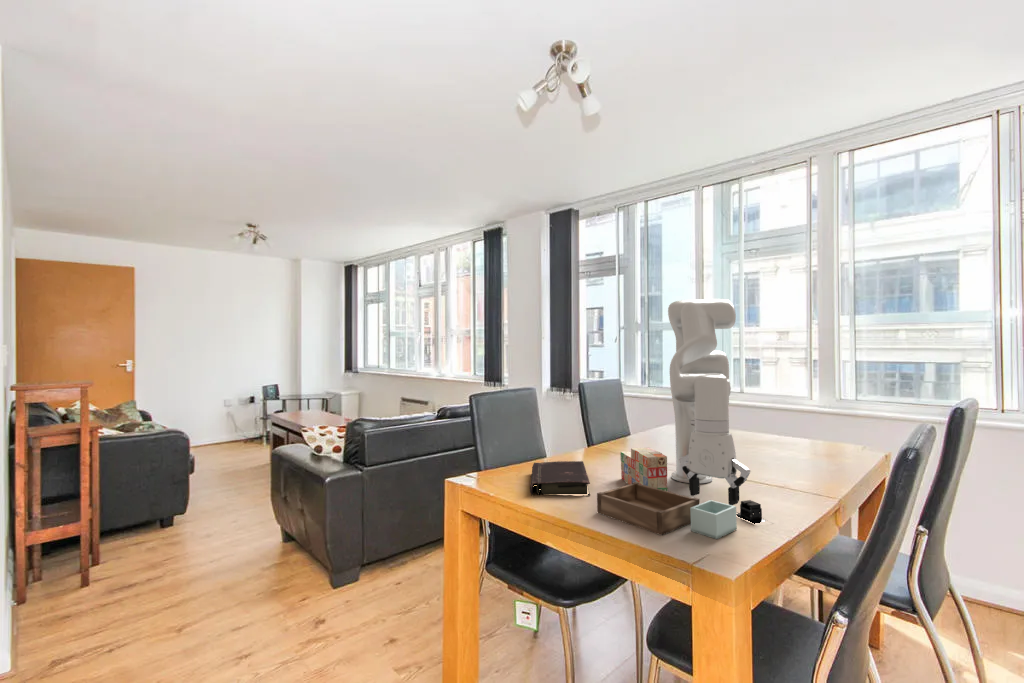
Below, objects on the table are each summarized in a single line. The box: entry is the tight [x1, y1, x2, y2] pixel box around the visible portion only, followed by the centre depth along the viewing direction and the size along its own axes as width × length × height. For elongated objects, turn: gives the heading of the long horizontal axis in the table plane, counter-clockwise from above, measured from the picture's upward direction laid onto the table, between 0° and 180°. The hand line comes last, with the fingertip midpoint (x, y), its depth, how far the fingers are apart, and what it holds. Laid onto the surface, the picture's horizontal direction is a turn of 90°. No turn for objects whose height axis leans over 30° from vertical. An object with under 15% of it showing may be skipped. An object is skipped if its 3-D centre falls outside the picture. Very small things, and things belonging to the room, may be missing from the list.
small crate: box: [690, 499, 738, 540], centre depth 114 cm, size 9×6×6 cm
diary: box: [529, 460, 591, 496], centre depth 154 cm, size 19×25×5 cm
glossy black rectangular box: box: [736, 499, 767, 524], centre depth 121 cm, size 12×7×5 cm, turn 15°
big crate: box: [596, 482, 700, 536], centre depth 124 cm, size 16×20×5 cm
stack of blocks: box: [620, 447, 668, 491], centre depth 149 cm, size 21×6×12 cm, turn 8°
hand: (713, 499), depth 113 cm, fingers open, 9 cm apart
